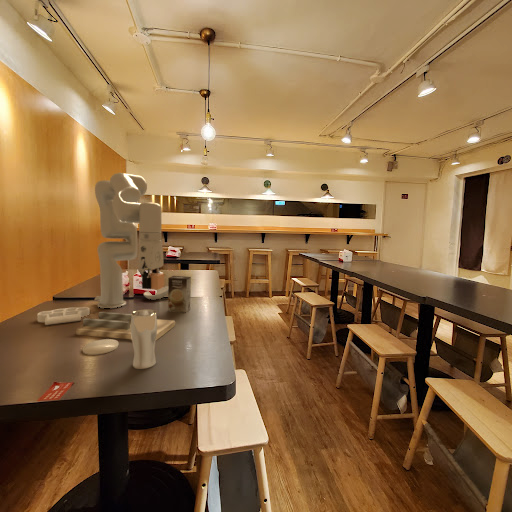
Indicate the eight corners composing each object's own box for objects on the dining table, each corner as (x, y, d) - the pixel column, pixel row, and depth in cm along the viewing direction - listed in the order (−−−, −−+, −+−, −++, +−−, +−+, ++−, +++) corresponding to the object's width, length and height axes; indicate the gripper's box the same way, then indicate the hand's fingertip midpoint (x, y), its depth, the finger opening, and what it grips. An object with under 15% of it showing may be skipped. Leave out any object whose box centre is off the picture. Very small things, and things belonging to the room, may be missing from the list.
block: (142, 288, 97) (142, 274, 97) (149, 285, 102) (149, 272, 102) (157, 289, 97) (157, 275, 96) (164, 286, 102) (164, 273, 101)
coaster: (74, 353, 82) (74, 350, 82) (98, 340, 92) (98, 338, 92) (104, 356, 81) (104, 353, 81) (125, 342, 91) (125, 340, 91)
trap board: (76, 334, 97) (75, 322, 96) (106, 320, 113) (106, 309, 112) (154, 341, 93) (154, 328, 92) (175, 325, 108) (175, 314, 108)
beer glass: (136, 358, 80) (135, 309, 79) (160, 358, 81) (160, 309, 80) (127, 370, 73) (126, 316, 72) (153, 370, 74) (153, 316, 73)
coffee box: (167, 311, 126) (167, 277, 125) (172, 307, 133) (172, 275, 131) (186, 312, 125) (186, 278, 124) (191, 308, 132) (191, 276, 130)
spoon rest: (146, 302, 141) (145, 289, 141) (141, 297, 151) (141, 285, 151) (190, 297, 154) (190, 285, 154) (183, 293, 164) (183, 281, 163)
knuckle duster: (34, 328, 102) (39, 317, 114) (90, 321, 112) (89, 311, 124) (34, 320, 102) (39, 310, 114) (90, 313, 112) (89, 304, 124)
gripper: (147, 238, 89) (148, 292, 91) (170, 237, 106) (170, 283, 107) (126, 237, 90) (127, 291, 92) (152, 236, 107) (153, 282, 108)
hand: (150, 286), depth 100 cm, fingers closed on block, 5 cm apart
